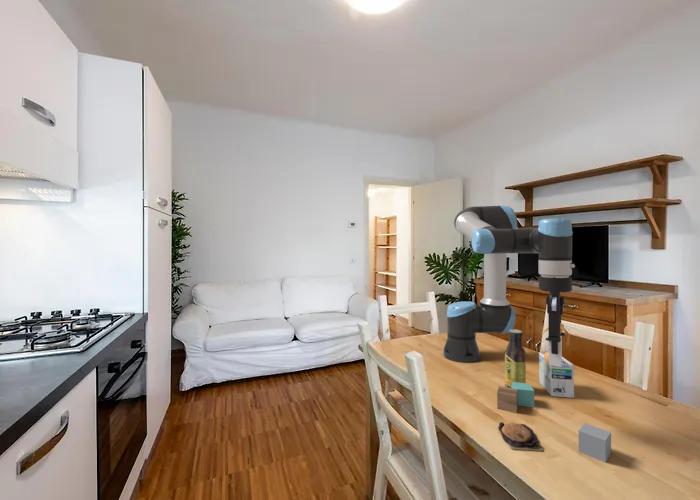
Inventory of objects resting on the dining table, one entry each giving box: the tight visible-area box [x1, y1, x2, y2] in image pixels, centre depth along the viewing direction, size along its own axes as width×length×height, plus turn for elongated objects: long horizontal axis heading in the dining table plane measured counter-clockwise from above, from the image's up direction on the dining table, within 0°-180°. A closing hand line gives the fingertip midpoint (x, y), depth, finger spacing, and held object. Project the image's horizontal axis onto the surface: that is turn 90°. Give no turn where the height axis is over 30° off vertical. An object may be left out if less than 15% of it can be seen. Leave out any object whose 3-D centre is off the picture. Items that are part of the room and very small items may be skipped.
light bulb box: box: [538, 352, 575, 399], centre depth 104 cm, size 11×7×11 cm, turn 168°
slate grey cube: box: [578, 422, 612, 463], centre depth 73 cm, size 5×5×5 cm
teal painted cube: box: [512, 382, 535, 408], centre depth 97 cm, size 5×5×5 cm
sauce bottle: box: [504, 328, 527, 388], centre depth 105 cm, size 6×6×20 cm
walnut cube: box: [496, 385, 519, 414], centre depth 94 cm, size 5×5×5 cm
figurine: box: [542, 322, 570, 366], centre depth 85 cm, size 8×6×12 cm
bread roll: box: [497, 421, 544, 453], centre depth 79 cm, size 11×8×4 cm
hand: (555, 362), depth 85 cm, fingers closed on figurine, 4 cm apart
